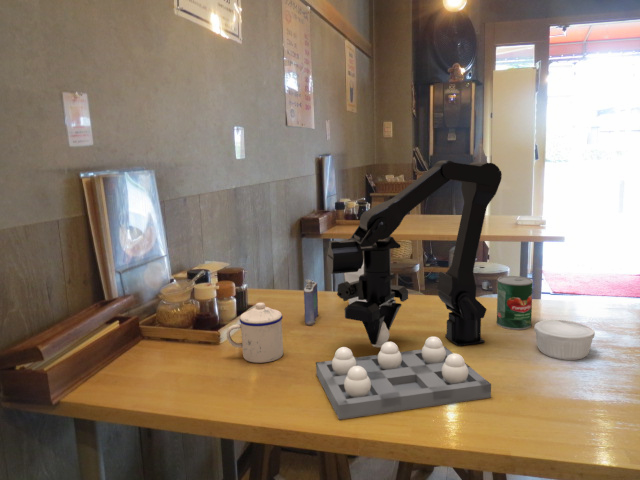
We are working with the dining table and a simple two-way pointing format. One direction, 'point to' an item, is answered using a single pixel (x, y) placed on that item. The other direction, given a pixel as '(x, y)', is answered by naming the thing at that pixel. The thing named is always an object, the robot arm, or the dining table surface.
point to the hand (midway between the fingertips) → (378, 340)
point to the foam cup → (352, 278)
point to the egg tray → (398, 380)
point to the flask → (310, 302)
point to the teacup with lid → (260, 334)
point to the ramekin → (563, 339)
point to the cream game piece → (382, 336)
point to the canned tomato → (514, 302)
